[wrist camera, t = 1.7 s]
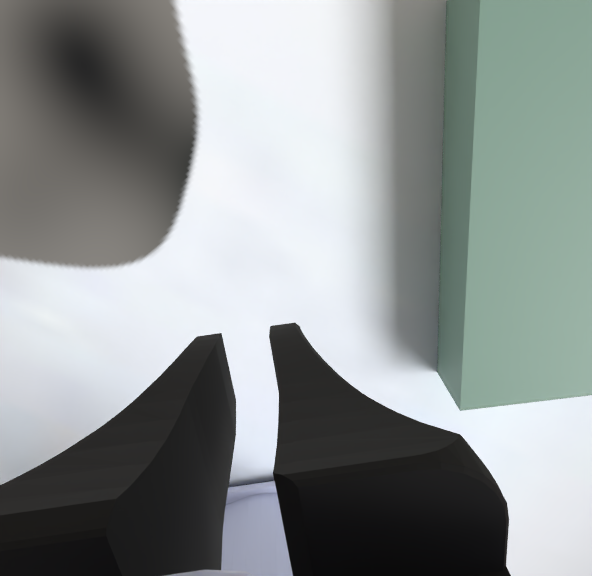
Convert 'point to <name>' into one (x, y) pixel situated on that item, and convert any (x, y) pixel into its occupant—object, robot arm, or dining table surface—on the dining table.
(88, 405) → the dining table surface
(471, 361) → the green book
